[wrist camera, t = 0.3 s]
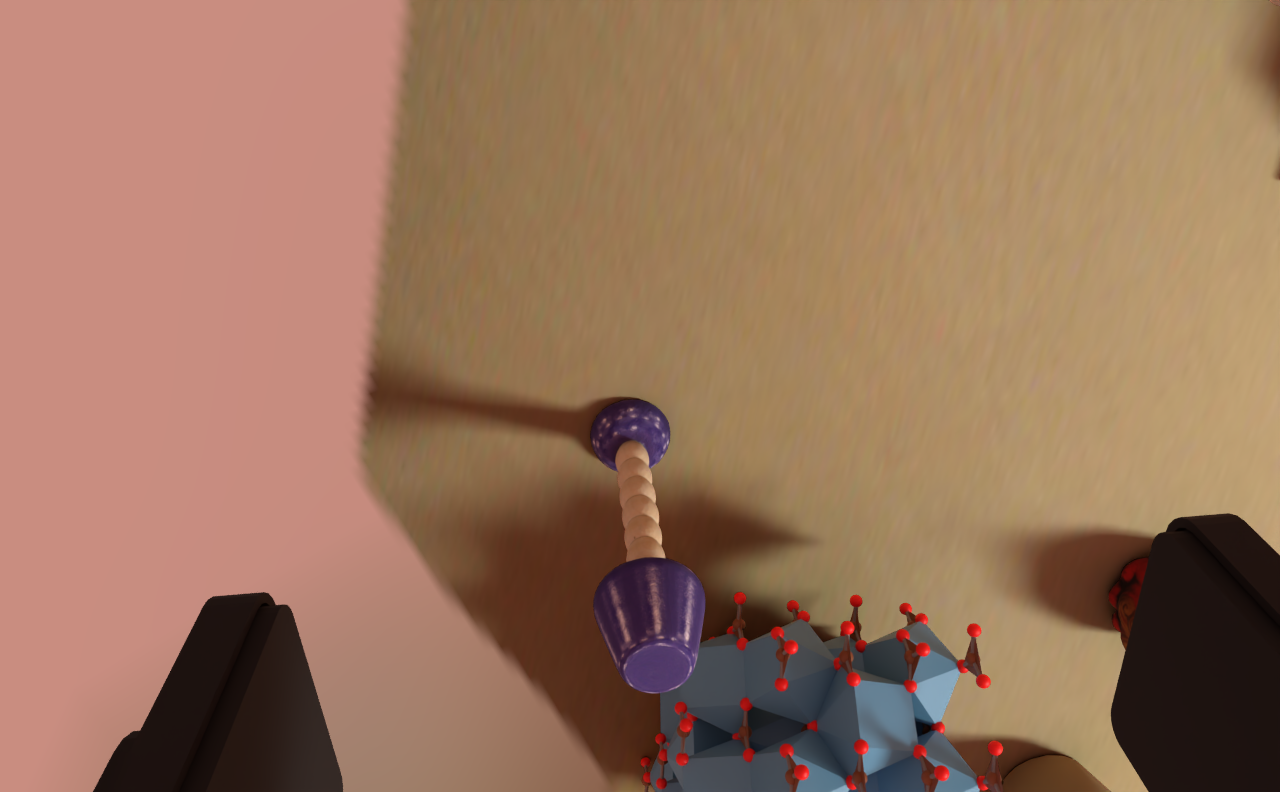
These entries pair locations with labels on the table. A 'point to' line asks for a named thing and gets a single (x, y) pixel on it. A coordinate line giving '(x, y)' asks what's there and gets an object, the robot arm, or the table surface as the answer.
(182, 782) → the robot arm
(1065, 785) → the squeeze bottle
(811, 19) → the table surface
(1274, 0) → the lightbulb
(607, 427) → the toy lamp
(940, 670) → the molecule model
